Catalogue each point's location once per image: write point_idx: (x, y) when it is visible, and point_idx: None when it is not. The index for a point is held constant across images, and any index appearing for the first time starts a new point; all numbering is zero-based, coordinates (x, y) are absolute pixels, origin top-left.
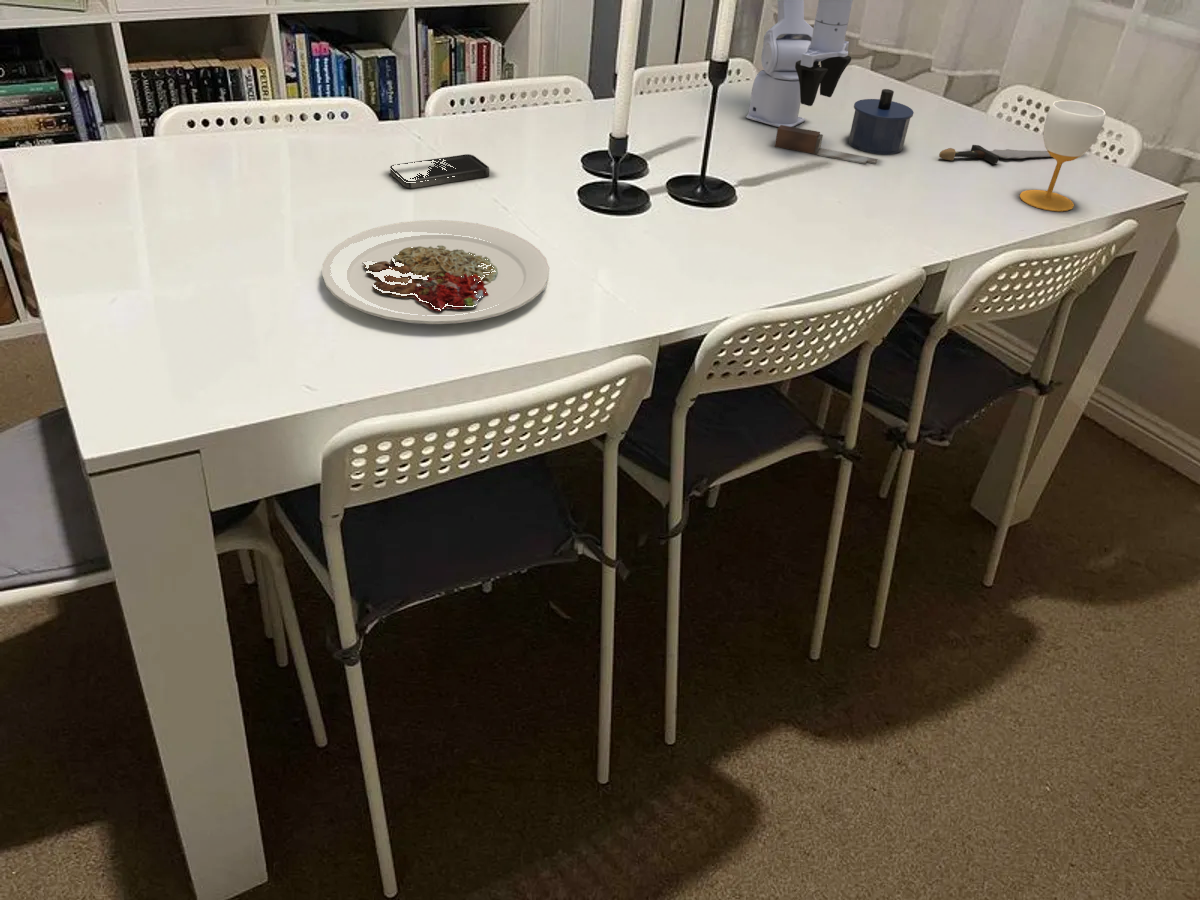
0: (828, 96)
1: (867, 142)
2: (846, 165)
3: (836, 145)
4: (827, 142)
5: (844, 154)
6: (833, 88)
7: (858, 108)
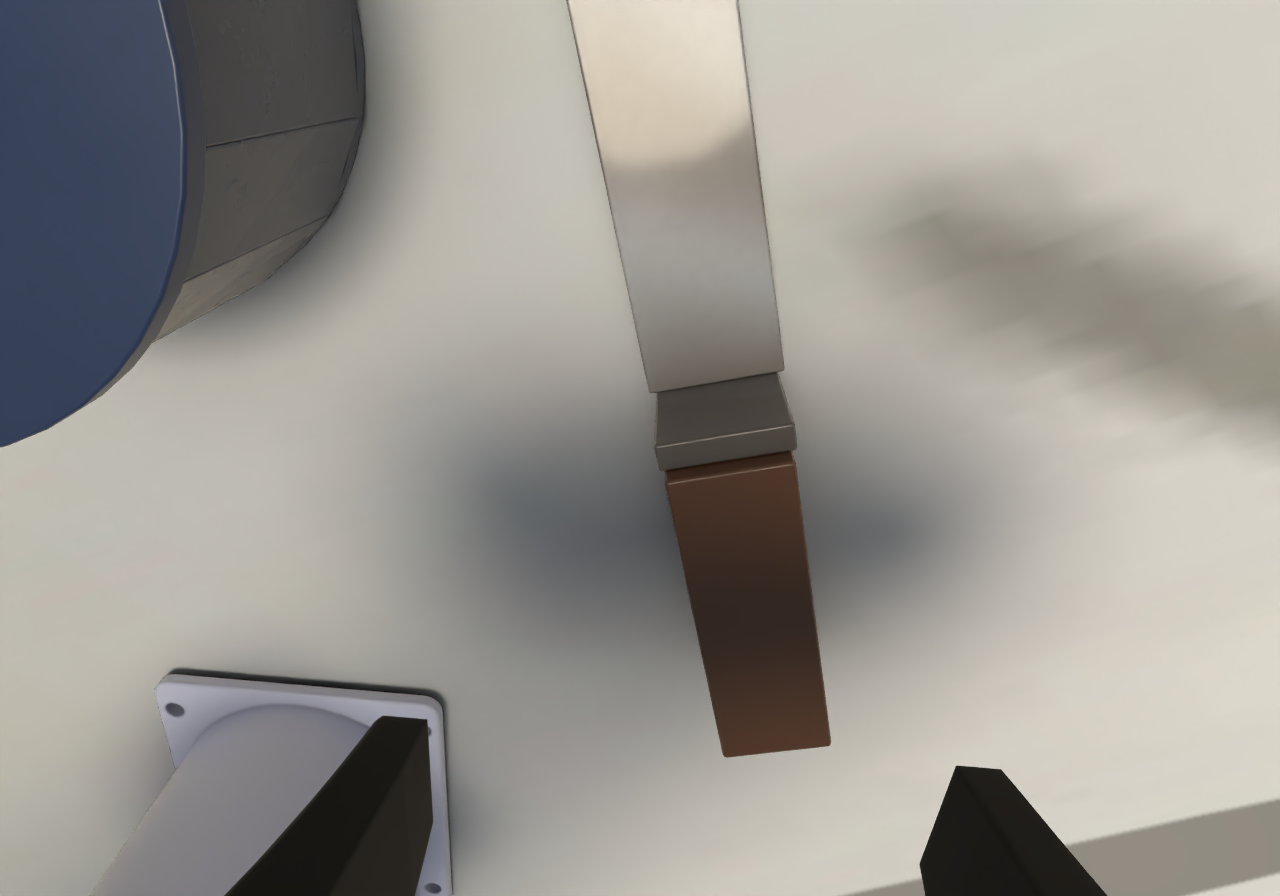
0: (428, 740)
1: (328, 39)
2: (870, 47)
3: (428, 326)
4: (423, 408)
5: (651, 166)
6: (380, 811)
7: (118, 338)
